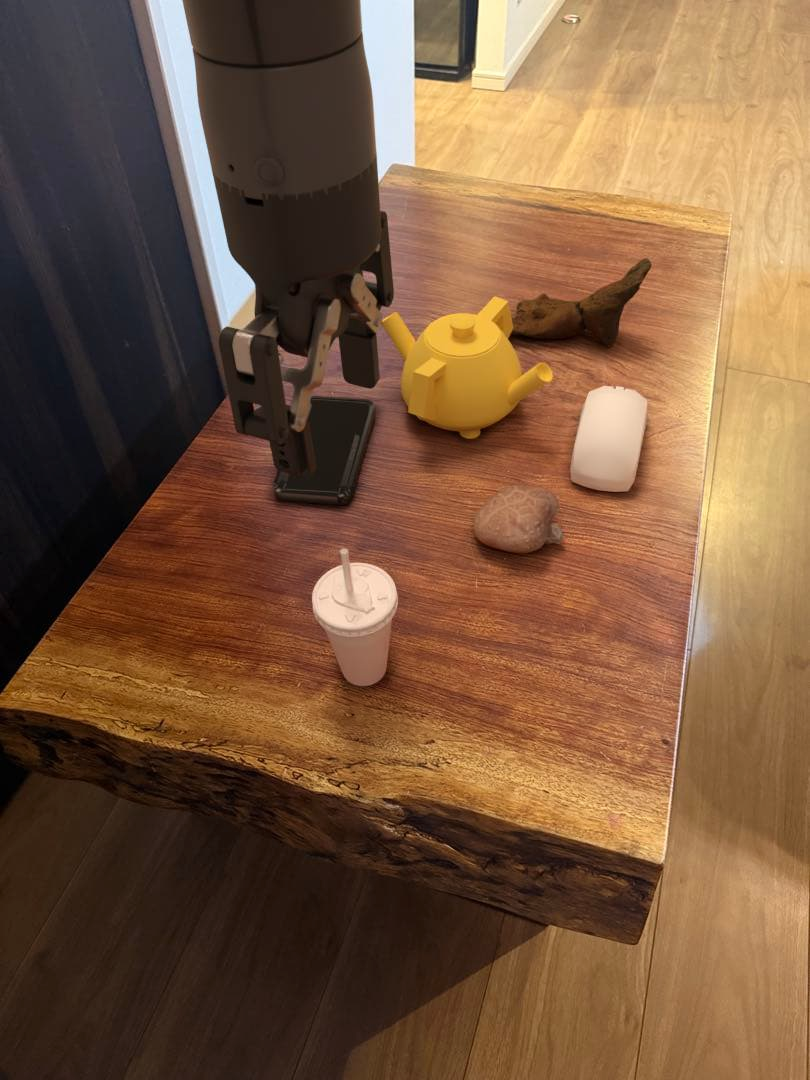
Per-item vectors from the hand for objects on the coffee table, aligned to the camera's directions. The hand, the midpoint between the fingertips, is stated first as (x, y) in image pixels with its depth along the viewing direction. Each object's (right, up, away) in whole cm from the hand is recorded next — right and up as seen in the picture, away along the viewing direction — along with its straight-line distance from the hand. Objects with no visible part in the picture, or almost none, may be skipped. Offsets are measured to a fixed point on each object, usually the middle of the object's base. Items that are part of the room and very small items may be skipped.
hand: (331, 425), depth 50 cm
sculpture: (+24, +17, +49) cm, 57 cm away
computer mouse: (+25, +2, +36) cm, 44 cm away
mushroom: (+15, -6, +28) cm, 33 cm away
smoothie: (+1, -17, +19) cm, 26 cm away
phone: (-4, +2, +37) cm, 37 cm away
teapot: (+11, +7, +41) cm, 43 cm away
